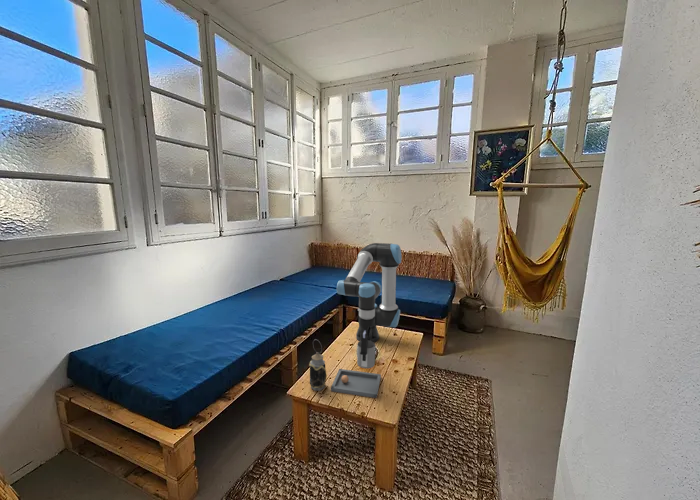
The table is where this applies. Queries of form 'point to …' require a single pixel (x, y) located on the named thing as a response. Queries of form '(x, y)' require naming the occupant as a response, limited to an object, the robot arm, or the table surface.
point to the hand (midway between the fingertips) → (365, 361)
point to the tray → (357, 383)
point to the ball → (344, 378)
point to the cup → (369, 356)
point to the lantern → (317, 371)
